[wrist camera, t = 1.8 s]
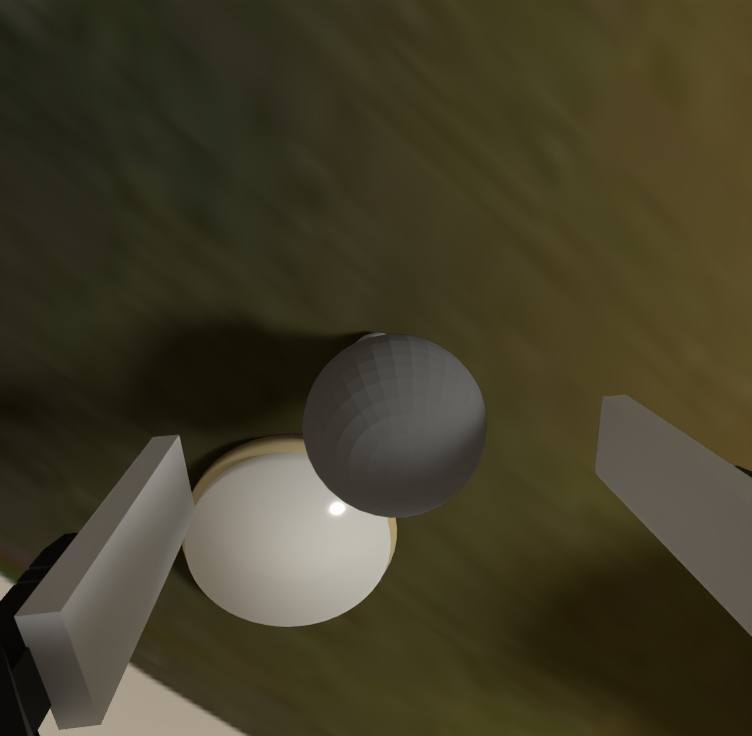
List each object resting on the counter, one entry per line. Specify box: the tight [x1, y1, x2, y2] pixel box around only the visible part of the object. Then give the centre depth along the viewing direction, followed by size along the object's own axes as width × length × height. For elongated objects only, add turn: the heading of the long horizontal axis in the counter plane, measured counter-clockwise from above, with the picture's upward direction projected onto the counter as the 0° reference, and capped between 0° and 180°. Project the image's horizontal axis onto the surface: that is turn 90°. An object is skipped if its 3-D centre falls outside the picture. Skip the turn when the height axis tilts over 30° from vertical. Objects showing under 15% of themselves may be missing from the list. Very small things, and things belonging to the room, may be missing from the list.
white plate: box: [182, 434, 397, 627], centre depth 25 cm, size 11×11×2 cm
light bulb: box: [303, 333, 487, 518], centre depth 18 cm, size 6×6×10 cm
